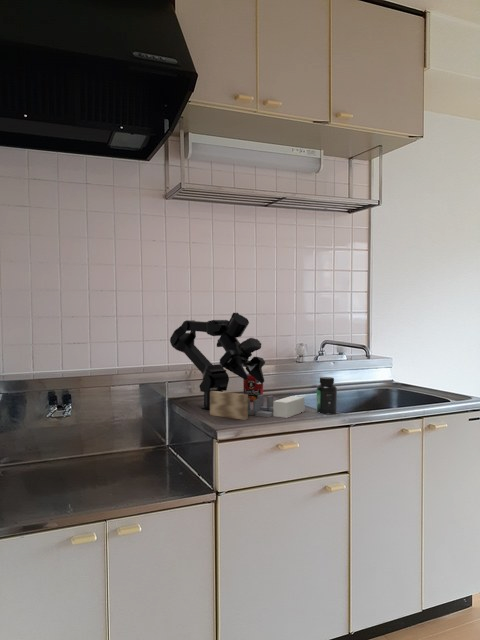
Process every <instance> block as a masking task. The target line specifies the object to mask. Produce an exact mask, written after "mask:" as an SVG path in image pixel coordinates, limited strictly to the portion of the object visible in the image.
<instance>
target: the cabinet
mask: <svg viewBox="0 0 480 640" xmlns="http://www.w3.org/2000/svg"><path fill="white" fill-rule="evenodd" d="M264 397H265V395H264V394H263V395H258V396H257V400H253V402H252V403H253V404H252V406H253V407H252V409H251V402H250V398H248V416H255V417H256V416H257V417H262V418H263V417H264V418H271V417H275V418H276V417H277V418H285V419H287V418H290V417H293V416H297V415H299V414H302V413H304V411H305V403H306V402H305V400H306V399H305V396H296V395H291V396H287V397H283V398H280V399H277V400H274V395H268V396H266V405H264V404H265V403H264V400H265V398H264ZM301 412H302V413H301Z"/></svg>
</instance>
